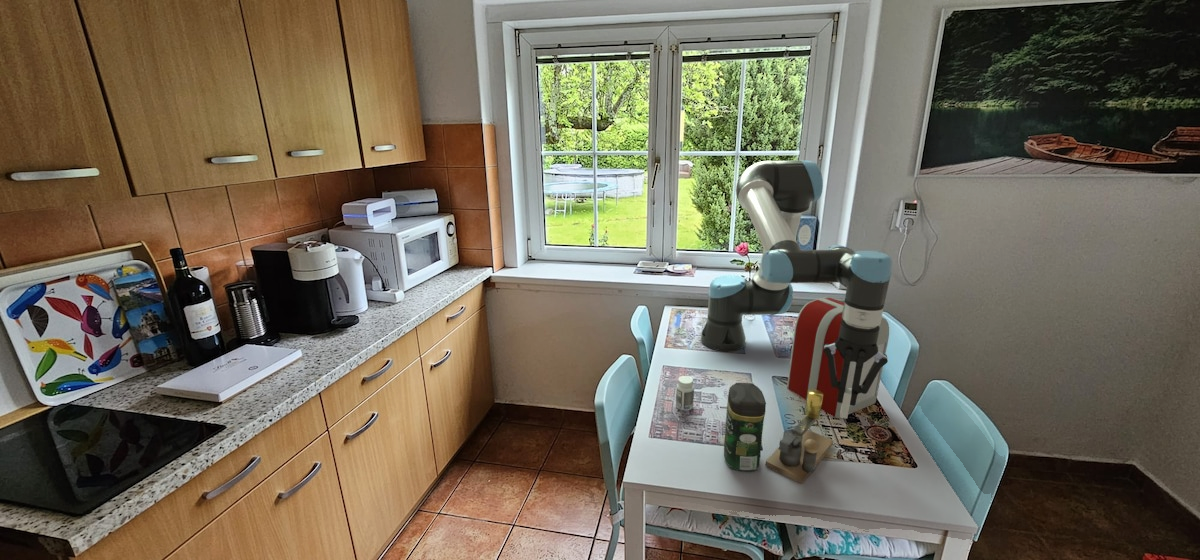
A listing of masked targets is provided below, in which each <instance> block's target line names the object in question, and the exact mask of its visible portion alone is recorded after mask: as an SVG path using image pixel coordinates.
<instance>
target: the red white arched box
mask: <svg viewBox="0 0 1200 560" xmlns="http://www.w3.org/2000/svg"><path fill="white" fill-rule="evenodd" d="M843 307H844V302H843V301H840V300H838V299H835V298H832V297H820V298H817V299H814V300H810V301H809V302H807V303H806V304H804V306H802V308H801V309H800V311H799V313H798V315H797V318H796V321H795V325H794V331H793V332H794V333H793V339H792V346H791V354H790V363H789V368H788V376H787V385H786V389H787V390H789V391H791V393H793V394H795V395H797V396H799V397H800V398H802V399H804V400H805V401H806V402H807V399H808V392H809V390H818V391H821V392H822V393H823V400H822V406H821V411H823V412H825V413H826V414H828V415H830V416H832V417H833V418H835V419H841V417H840V411H841V405H842V403H839V402H838V401H837V397H838V391H839V390H838V389H837V388H836V387H832V386H831V381H830V373H829V365H828V358H827V356H826V354H825V352H824V345H825V344H829V345H830V344H833V343H835V341H836V339H837V338H838V337H839V331H840V325H841V321H842V320H843V318H842V314H843ZM879 327H880V330H879V335H878V340H877V346H878V351H879V352H881V353H882V354H886V353H887V348H888V344H889V339H890V326H889V322H888V320H887V319H886V318H885V317H883V316H882V319H881V324H880V325H879ZM835 350H836V351H835V354H834V358H835V366H836V374H837V380H838V381H840V379H841V373H842V368H843V362H844V359H843V358H842V356H841V354H840V353H839V351H838V350H837V348H836V349H835ZM886 355H887V354H886ZM874 357H875V355H874V356H873V357H872V358H870V359H869V360H868V361H866V362H864V363H863V368H862V373H861V379H860V384H859V385H862V383H863V381H864V380H865V378H866V376H867V374H868V372H869V370H870V368H871V367H872V365H873V363H874V361H875V360H874ZM855 368H856V362H850V366H849V371H848V377H847V382H846V387H847V388H851V389H852V384H853V379H854V373H855ZM883 368H884V366H882V367H881V368H880V370H879V372H878V374H877V376H876V377H875V379H874V381H873V383H872V385H871V387H870V388H869V390H868V392H867V393H866V394H863V393H859V394H858V395H857V399H856V404H855V405H854V406H853V405H850V406H849V411H848V415H851V414H853V413H855V412H857V411H860V410H863V409H864V408H867V407H870V406H871V405H874V404H876V402H877V397H878V394H879V393H878V392H879V388H880V383H881V378H882V372H883Z"/></svg>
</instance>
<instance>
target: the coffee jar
mask: <svg viewBox="0 0 1200 560" xmlns="http://www.w3.org/2000/svg"><path fill="white" fill-rule="evenodd" d="M727 395H728V396H727V403H726V404H727V405H726V414H725V415H726V416H725V418H726V419H725V432H724V442H723V454H724V455H723V456H724V458H725V461H726V462H725V463H726V464H727V465H728V467H729V468H732V469H734V470H737V471H739V472H740V471H741V472H752V471H753V472H754V471H755V470H758V468H759V466H760V463H761V462H760V461H761V451H762V440H763V432H764V431H763V429H764V422H765V416H766V406H767V405H766V404H767V402H766V399H765V396H764V393H763V391H762V390H761V389H760V388H759V387H758V386H757V385H755V383H753V382H735V383H734V384H732V385H730V387H729V389H728V394H727Z"/></svg>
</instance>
